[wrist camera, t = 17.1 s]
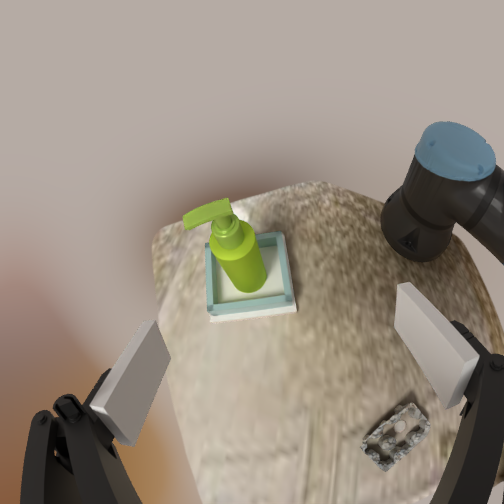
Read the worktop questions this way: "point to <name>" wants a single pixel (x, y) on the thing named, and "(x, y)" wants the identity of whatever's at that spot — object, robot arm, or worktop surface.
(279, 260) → the cradle
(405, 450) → the egg carton
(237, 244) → the soap dispenser
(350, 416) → the worktop surface
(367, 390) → the worktop surface
